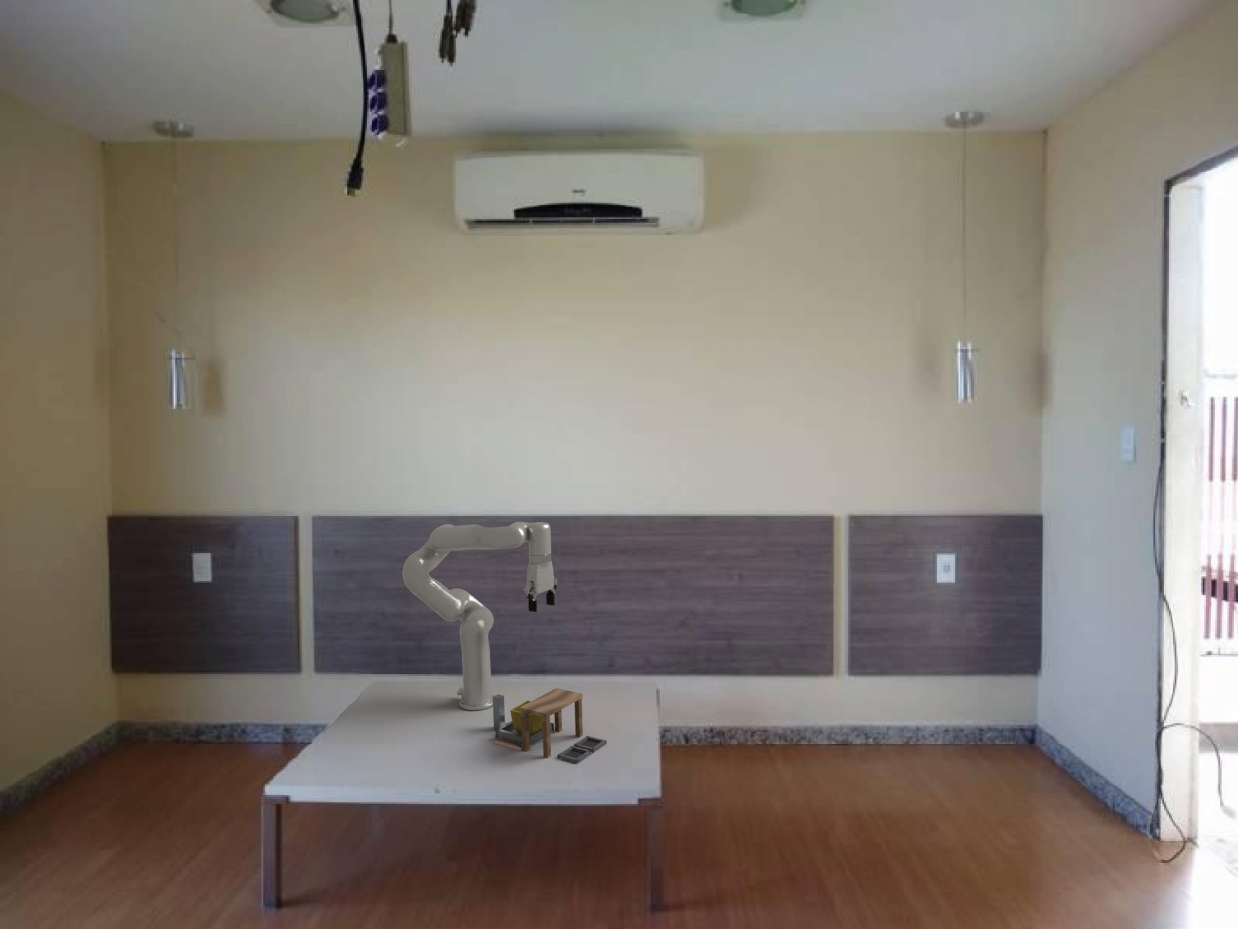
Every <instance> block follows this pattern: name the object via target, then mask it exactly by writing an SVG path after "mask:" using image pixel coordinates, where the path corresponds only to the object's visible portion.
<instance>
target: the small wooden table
mask: <svg viewBox="0 0 1238 929" xmlns="http://www.w3.org/2000/svg"><path fill="white" fill-rule="evenodd" d="M582 698H583V693H580V692H577V691H571V690H568V689H562V688H559V687H556V688H554V689H552V690H550V691H548V692H546V693H544V694H543V695H541V696H539V697H537V698H535V699H533V700H530V701H531V702H529V703H527V704H525V705H523V706H521V707H520V711H521V732H522V745H521V751H523V752H526V753H527V752H528V751H530V750H531V748H530V747H531V745H530V742H529V714H533V715H537V716H541V717H542V730H543V738H542V748H543V749H542V754H543V755H542V756H543V758H550V757H551V756H552V744H551V742H552V740H551V733H550V722H551V716H552V715H554V716H553V717H554V727H555V729H554V732H557V733H558V732H559V733H560V732H562V731H563V717H562V716H563V715H562V712H563V711H562V710H563V709H564V708H567V707H569V706H570V705H572V704H573V703H574V725H575V726H574V728H575V729H574V730H575V737H577V738H581V737H582V736H583V735H584V734H583V732H584V731H583V728H584V727H583V700H582Z"/></svg>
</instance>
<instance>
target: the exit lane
mask: <svg viewBox="0 0 1238 929" xmlns="http://www.w3.org/2000/svg"><path fill="white" fill-rule="evenodd" d="M554 730H555V726H554ZM492 743H493V744H495V745H499V746H503V747H506V748H510V749H514V750H517V751H519V750H522V746H521V747H520V746H516V745H512V744H509V743H506V742H502V741H500V740H493V741H492Z"/></svg>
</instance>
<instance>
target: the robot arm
mask: <svg viewBox="0 0 1238 929" xmlns="http://www.w3.org/2000/svg"><path fill="white" fill-rule="evenodd" d="M551 533H552V532H551V526H550V523H548V522H543V521H538V522H526V521H515V522H513V523H511V524H510V525H508V526H498V527H496V526H495V527H486V526H482V525H480V524H474V523H473V524H465V525H464V524H463V525H453V524H450V523H446V524H441V525H440V526H438V527H436V528H434V529H433V530H432V532H431V533H430V535H429V539H428V540H427V541H426V543H425V544H423V546H421V548H420V549H417V551H415V552H413V553H411V554H410V555H409V556H408V557H407V559H406V560H405V561H404V563H403V566H402V579H403V583H404V585H405V586H406V588H407V589H408V590H409V592H411V593H412V594H413V595H414V596H415V597H417V598H418V599H419V600H420V601H422V602H423V603H424V604H425V605H426V606H428V607H429V608H430V609H431V610H432V611H433V612H435V613H436V614H437V615H439V617H440V618H442V619H443V620H445V621H446V622H455V621H458V620H459V621H460V622H461V624H460V626H459V640H460V647H461V661H462V662H461V665H462V686H461V687H459V688H458V690H457V691H456V695H458V696H461V699H460V700H459V707H460V708H461V709H462V710H463V709H464V710H466V711H480V710H481V711H482V710H486V709H489V708H491V707H492V708H493V696H494V695H492V677H491V676H492V674H491V673H492V672H491V671H492V670H491V650H490V642H489V633H490V631H491V630H492V628H493V626H494V623H495V622H494V621H495V619H494V615H493V613H492V611H490V609H489V608H488V607H486V606H485V605H484V604H483V603H482V602H480V601H479V600H478V599H477V598H475V597H474V596H473V595H472V594H470V593H469V592H468V591H467V590H465V589H462V588H451V589H449V588H448V587H446V586H444V584H443V583H441V582H440V581H438V580H437V579H435V578H434V577H432V576H431V575H430V572H432V571H433V570H434V569H435V568H437V566H438V565H439V564H440V563H441V562H442V561H443V560H444V559H445V558H446V557H447V556H448V555H449V554H450V552H458V551H469V550H470V551H471V550H479V551H481V550H483V551H485V550H489V551H490V550H492V551H493V550H507V549H508V550H509V549H510V550H511V549H515V548H520V547H521V546H522V545H523V544H525V543H528V558H529V559H528V561H529V563H528V564H527V569H526V585H525V587H524V589H523V592H524V596H525V598H526V600H527V601H528V611H529V612H531V613H537V612H538V602H537V596H538V594H542V593H546V594H545V597H546V600H545V601H546V605H547V606H555V605H556V603H555V600H556V599H555V594H556V590H557V588H558V586H557V585H558V583H559V582H558V581H559V580H558V578H556V577H555V573H554V566H553V563H552V562H553V561H552V536H551V535H552V534H551Z"/></svg>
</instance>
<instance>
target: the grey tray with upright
mask: <svg viewBox="0 0 1238 929" xmlns="http://www.w3.org/2000/svg"><path fill="white" fill-rule="evenodd" d="M505 711H506V710H505V695H504V694H496V695H493V706H492V716H493V717H492V719H493V728H494V733H495V734H494V736H495V739H499V740H501V741H506V742H510V743H513V744H516V745H520V746H522V735H520V734H518V733H517V732H516V733H515V732H513V731H514V730H515V729H514V726H513V722H512V720H511V721H509V722H506V720H505V718H506V716H505V714H506V713H505ZM554 727H555V722H551V721H550V734H551V733H554V732H555V729H554ZM515 731H516V730H515ZM540 740H543V730H542V728H541V729H539V730H537V731H535V732H534V733H532V734H530V735H529V742H530V746H532V745H533V744H535V743H536V742H538V741H540Z"/></svg>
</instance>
